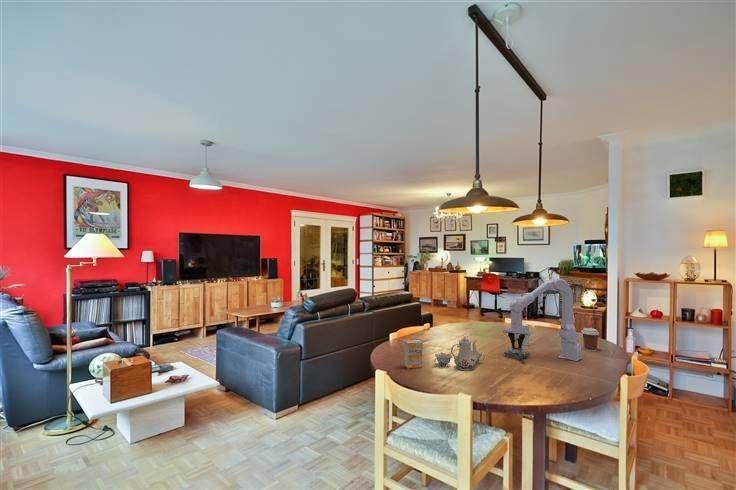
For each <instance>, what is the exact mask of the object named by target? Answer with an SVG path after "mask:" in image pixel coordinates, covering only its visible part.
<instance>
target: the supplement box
mask: <svg viewBox="0 0 736 490" xmlns="http://www.w3.org/2000/svg"><path fill="white" fill-rule="evenodd" d="M404 367H405V368H407V369H408V370H409V369H417V368H423V341H421V340H420V339H417V340H416V339H414V340H404Z"/></svg>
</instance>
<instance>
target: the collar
mask: <svg viewBox="0 0 736 490" xmlns="http://www.w3.org/2000/svg"><path fill="white" fill-rule="evenodd" d="M507 348H508V350H509V351H510V352H511V353H517V354H518V355H519V356H520V357H521V358H523V359H524V360H527V356H526V355H525V354H526V351H527V350H526V348H524V346H522V348H520V350H517V349H514V347H512V345H510V346H509V345H508V347H507ZM508 350H507V351H508Z"/></svg>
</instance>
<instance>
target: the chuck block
mask: <svg viewBox="0 0 736 490" xmlns="http://www.w3.org/2000/svg"><path fill="white" fill-rule="evenodd" d="M503 355H504V356H503V357H505V358H509V359H510V358H511V359H515V360H520V361H524V360H525V359H523V358H521V357H520V356H519V355H518V354H517V353H511V352H510V351H509V350H506V351H504V354H503ZM525 355H526V356H527V358H530V356H531V352H530V351H527V350H526V354H525Z"/></svg>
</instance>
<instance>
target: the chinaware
mask: <svg viewBox="0 0 736 490" xmlns="http://www.w3.org/2000/svg"><path fill="white" fill-rule="evenodd" d="M477 341H478V340H477V339H474V340H473V341H472V340H469V339H468V338H467V337H466V335H464V336H463V338H461V339H459V340H458V343H455V344H453V345H452V346H451V348H450V353H445V352H440V353H435V358H434V364H435V365H438V366H440V365H442V366H441V367H447V366H448V365H449V364H450V362H451V359H452V358H453V360H454V364H455V365H456V369H458V370H460V371H466V372H467V371H473V370H474V369H475V367H476V366H477V362H478V363H479V362H480V360H481V359H480V358H481V357H482V356H483V358H482V361H484V360H485V355H484V354H483V352H482V351H481V352H480V351H478V349H477V346H476V342H477ZM471 345H472V346H471ZM455 346H456V347H457V348H459V349H458V353H457V355H455V354H454V352H453V349H454V348H455ZM471 347H472V348H471ZM436 360H437V361H436ZM436 362H437V363H436ZM446 365H447V366H446Z"/></svg>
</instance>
